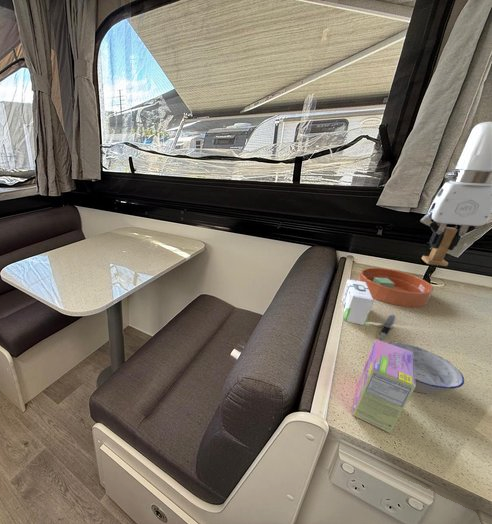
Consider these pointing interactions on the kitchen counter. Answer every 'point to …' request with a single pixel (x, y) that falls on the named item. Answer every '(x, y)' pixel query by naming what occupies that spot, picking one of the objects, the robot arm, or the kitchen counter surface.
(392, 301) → the bowl
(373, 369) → the box
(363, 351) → the kitchen counter surface
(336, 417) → the kitchen counter surface
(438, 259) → the brown wooden post
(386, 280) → the block
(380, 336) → the knife
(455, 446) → the kitchen counter surface
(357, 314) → the ink box
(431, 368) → the bowl
